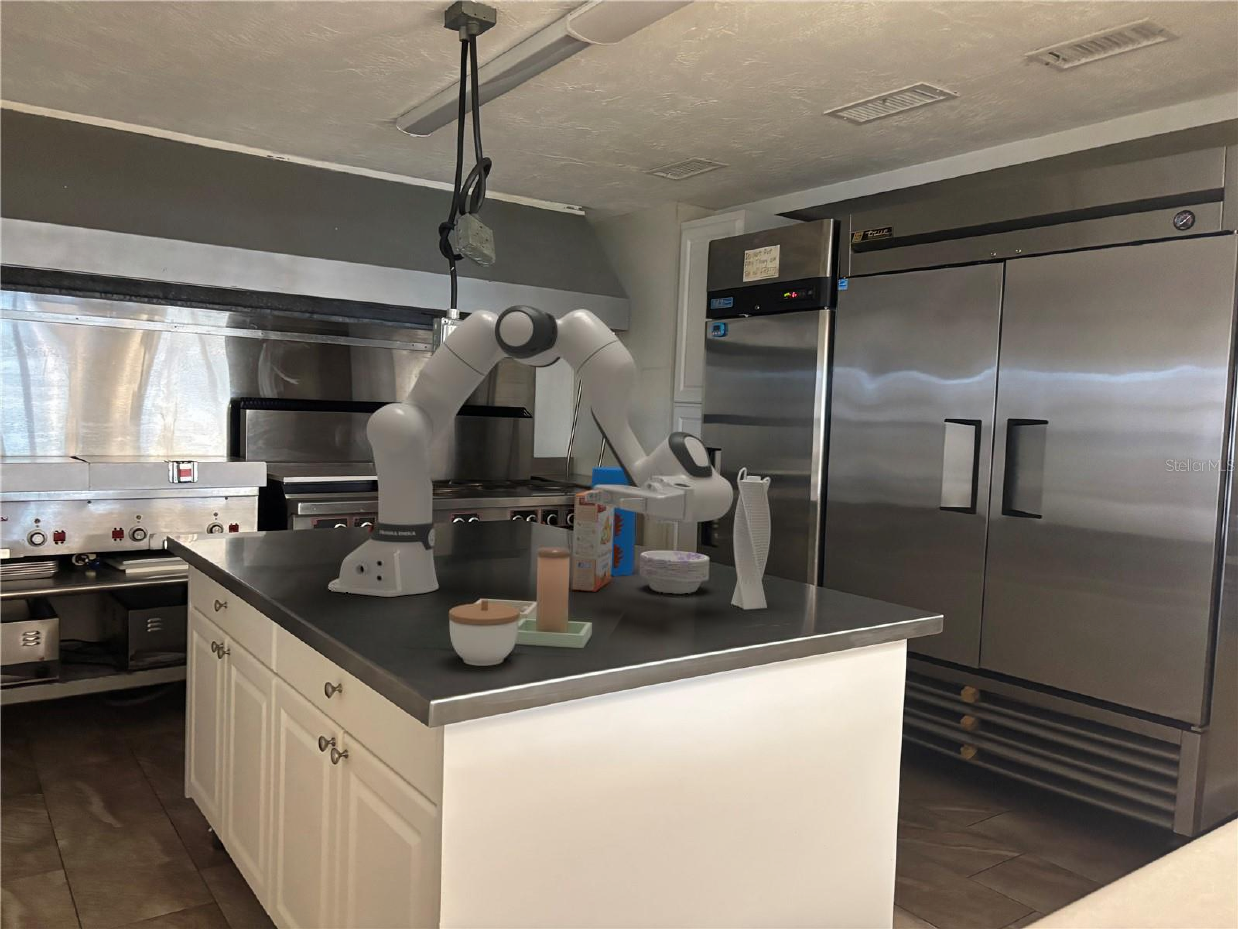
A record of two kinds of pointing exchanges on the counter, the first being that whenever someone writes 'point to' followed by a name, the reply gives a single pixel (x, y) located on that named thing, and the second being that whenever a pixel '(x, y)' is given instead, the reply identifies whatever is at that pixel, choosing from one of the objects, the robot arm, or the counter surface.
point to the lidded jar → (483, 632)
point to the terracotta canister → (552, 589)
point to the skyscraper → (751, 541)
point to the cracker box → (591, 544)
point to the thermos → (619, 523)
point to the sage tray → (554, 635)
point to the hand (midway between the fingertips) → (602, 500)
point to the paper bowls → (674, 570)
